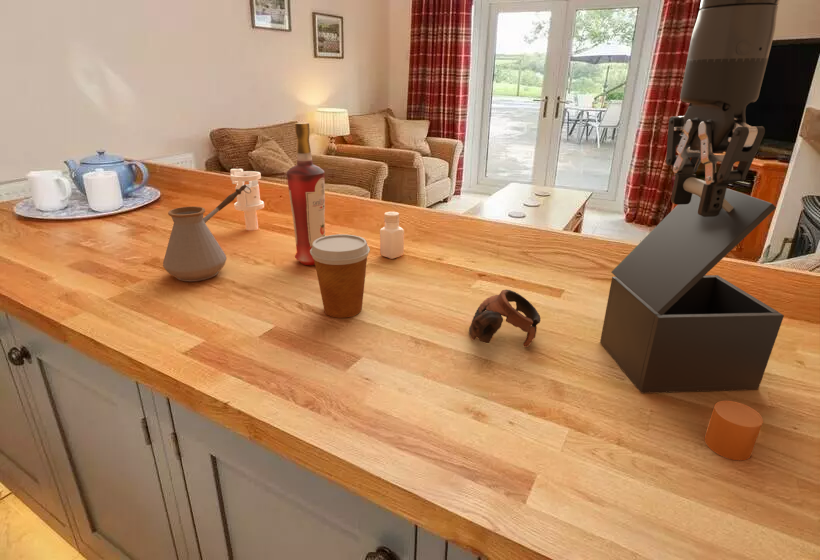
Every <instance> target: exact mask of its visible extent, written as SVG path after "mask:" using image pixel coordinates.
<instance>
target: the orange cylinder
mask: <svg viewBox="0 0 820 560" xmlns="http://www.w3.org/2000/svg"><path fill="white" fill-rule="evenodd" d="M763 423H764V419H763V417H762V416H761V414H760V413H759V412H758V411H757V410H756V409H754V408H752V407H750V406H748V405H746V404H745V403H742V402H738V401H734V400H719V401H717V402H716V403H714V406H713V409H712V412H711V415H710V419H709V422H708V426H707V427H706V428H707V429H706V431H705V435H704V443H705V444H706V446H707V447H708V448H709V449H710V450H711V451H712V452H714V453H715V454H716V455H718V456H721V457H723V458H725V459H728V460H733V461H746V460H749V459H750V458H751V456H752V454H753V451H754V449H755V446H756V443H757V440H758V438H759V435H760V432H761V430H762V426H763V425H764V424H763Z"/></svg>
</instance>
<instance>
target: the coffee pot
mask: <svg viewBox="0 0 820 560" xmlns="http://www.w3.org/2000/svg"><path fill="white" fill-rule="evenodd" d="M246 185H247V184H244V185H243V186H241V187H240V189H236V188H235V191H234V192H232V193H231V194H229V195H227V196H226V197H225V198H224V199H223V200H222V201H221V202H220V203H219V204H218V205H217V206H216V207H215V208H214V209H213V210H212V211H211V212H209V213H208V214H207V215H205V216H204V214H205V212H206V209H205V207H202V206H182V207H175V208H172V209H170V210H168V212H167V215H168V216H169V217H171V219H172V222H173V225H172V229H171V233H170V236H169V239H168V243H167V246H166V250H165V255H164V257H163V263H162V267H163V269H164V270H165V271H166V272H167V273H168V274H169V275H170V276H172V277H174V278H176V279H177V280H179V281H180V282H181V281H182V282H199V281H201V282H202V281H205V280H208V279H211V278H213V277H215V276H217V275H218V274H219V272H220V271H221V270H222V269H223V268H224V266H225V265H226V262H227V256H226V253H225V251H224V249H223V248H222V246H221V245H220V244H219V242H218V241H217V239H216V238H215V236H214V235H213V233H212V232H211V230H210V228H209V227H208V225H207V224H206V223H207V222H209V220H210V219H212V218H213V217H214V216H215V215H216V214H217V213H218V212H220V211H222V210H223V209H224V208H225V207H226V206H228V205H229V204H231V203H232V202H233V201H234V200H235V199H237V197H236V196H237V195H238V194H241V191H243V190H244V189H245V188H246V187H247V186H246ZM247 188H249V187H247ZM249 189H250V188H249ZM244 191H245V190H244ZM245 192H246V191H245ZM246 193H248V192H246ZM249 193H251V189H250V192H249Z"/></svg>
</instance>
